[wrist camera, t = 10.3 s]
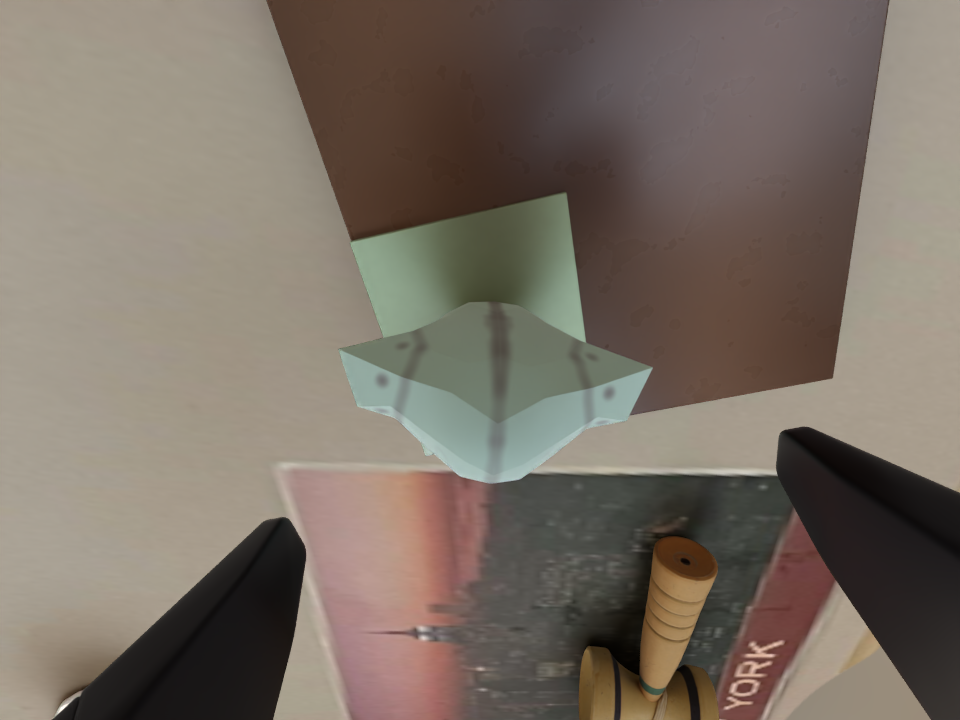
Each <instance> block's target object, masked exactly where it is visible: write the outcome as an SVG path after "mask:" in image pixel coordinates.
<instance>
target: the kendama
mask: <svg viewBox="0 0 960 720" xmlns="http://www.w3.org/2000/svg"><path fill="white" fill-rule="evenodd" d="M717 571H718V566H717V562H716V560H715V558H714V556H713V555H712V554H711V553H710V552H709V551H708V550H707V549H706V548H704V547H703V546H702V545H700V544H698V543H697V542H694V541H692V540H690V539H687V538H684V537H678V536H668V537H664V538H661V539H660V540H658V541H657V542H656V544H655V546H654V551H653V560H652V569H651V577H650V586H649V591H648V599H647V604H646V612H645V617H644V622H643V629H642V637H641V648H640V671H639V675H636V674H634V673H632V672H630V671H629V670H627V669H626V668H624V667H623V666H622V665H621V664H620V663H618V662H617V661H616V659H615V658H614V657H613V656H612V654H611V653H610V652H609V650H608V649H607V648H604V647H595V646H588V647H587V648H586V650H585V652H584V654H583V658H582V664H581V671H580V682H579V719H580V720H719V711H718V703H717V698H716V694H715V691H714V687H713V685H712V682H711V680H710V678H709V676H708V674H707V673H706V671H705V670H704V669H703V668H699V667H695V666H691V665H687V664H686V665H685V664H684V665H682V666H681V667H680V668H678V669H677V670H676V668H677V667H678V665H679V663H680V661H681V659H682V656H683V654H684V652H685V649H686V647H687V645H688V642H689V640H690V637H691V634H692V632H693V630H694V627H695V624H696V621H697V619H698V617H699V614H700V612H701V609H702V607H703V605H704V602H705V600H706V597H707V595H708V593H709V591H710V589H711V587H712V584H713V582H714V580H715V578H716V575H717ZM675 670H676V671H675Z"/></svg>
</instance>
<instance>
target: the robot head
mask: <svg viewBox="0 0 960 720" xmlns="http://www.w3.org/2000/svg"><path fill="white" fill-rule="evenodd" d="M338 350H339V353H340V356H341V359H342V362H343V365H344V368H345V371H346V374H347V377H348V380H349V383H350V386H351V389H352V392H353V395H354V398H355V401H356V404H357V406H358V407H361V408H364V409H367V410H370V411H374V412H377V413H380V414H383V415H387V416H390V417H393V418H396V419H397V420H398V421H399V422H400V423H401V424H402V425H403V426H404V427H405V428H406V429H407V430H408V431H410V432H411V433H412V434H413V435H414V436H415V437H416V438H417V439H418V440H419V441H420V442H421V443H422V444H424V445H425V446H426V447H427V448H428V449H429V450H430V451H431V452H432V453H434V454H435V455H436V456H437V457H438V458H439V459H440V460H442V461H443V462H444V463H445V464H446V465H447V466H448V467H450V468H451V469H452V470H453V471H454V472H455V473H456V474H458V475H459V476H460V477H464V478H468V479H473V480H477V481H482V482H486V483H498V482H506V481H513V480H520V479H521V478H523V477H524V476H525V475H527V474H528V473H529V472H531V471H532V470H534V469H535V468H536V467H538V466H539V465H541V464H542V463H543V462H545V461H546V460H547V459H549V458H550V457H552V456H553V455H554V454H556V453H557V452H558V451H559V450H560V449H562V448H563V447H564V446H565V445H567V444H568V443H569V442H570V441H572V440H573V439H574V438H575V437H577V436H578V435H579V434H580V433H582V432H583V431H584V430H585V429H587V428H591V427H597V426H602V425H607V424H613V423H618V422H623V421H627V419H628V417H629V415H630V413H631V411H632V409H633V407H634V405H635V403H636V401H637V399H638V397H639V395H640V393H641V391H642V389H643V387H644V385H645V383H646V381H647V379H648V377H649V375H650V373H651V371H652V368H653V367H650V366H648V365H645V364H642V363H640V362H637V361H634V360H631V359H629V358H626V357H623V356H621V355H618V354H615V353H612V352H610V351H607V350H604V349H601V348H599V347H596V346H593V345H591V344H588V343H585V342H582V341H580V340H578V339H576V338H574V337H572V336H570V335H569V334H567V333H565V332H563V331H561V330H559V329H557V328H555V327H553V326H551V325H550V324H548V323H546V322H544V321H543V320H542V319H541V318H539V317H537V316H535V315H534V314H532V313H530V312H529V311H527V310H525V309H524V308H522V307H520V306H518V305H512V304H506V303H500V302H494V301H493V302H468V303H466V304H464V305H462V306H460V307H458V308H456V309H454V310H452V311H450V312H448V313H447V314H445V315H444V316H443V317H442V318H440V319H439V320H438V321H435V322H433V323H430V324H428V325H426V326H423V327H421V328H419V329H416V330H414V331H410V332H406V333H402V334H398V335H394V336H390V337H385V338H381V339H377V340H373V341H369V342H365V343H361V344H357V345H353V346H349V347H344V348H340V349H338Z"/></svg>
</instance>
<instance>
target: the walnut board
mask: <svg viewBox="0 0 960 720" xmlns="http://www.w3.org/2000/svg"><path fill="white" fill-rule="evenodd" d="M266 1H267V3H268V6H269V9H270V12H271V15H272V18H273V20H274V23H275V26H276V29H277V32H278V35H279V37H280V40H281V43H282V46H283V49H284V52H285V54H286V57H287V60H288V63H289V66H290V68H291V71H292V74H293V77H294V80H295V83H296V85H297V88H298V91H299V94H300V97H301V100H302V102H303V105H304V108H305V111H306V114H307V117H308V119H309V122H310V125H311V128H312V131H313V134H314V136H315V139H316V142H317V145H318V148H319V151H320V153H321V156H322V159H323V162H324V165H325V168H326V170H327V173H328V176H329V179H330V182H331V185H332V187H333V190H334V193H335V196H336V199H337V202H338V204H339V207H340V210H341V213H342V216H343V219H344V221H345V224H346V227H347V230H348V233H349V235H350V238H351V242H350V245H351V248H352V250H353V253H354V256H355V259H356V262H357V264H358V267H359V270H360V273H361V276H362V279H363V281H364V284H365V287H366V290H367V293H368V295H369V298H370V301H371V304H372V307H373V309H374V312H375V315H376V318H377V321H378V324H379V326H380V329H381V332H382V335H383V338H385V337H390V336H394V335H398V334H402V333H406V332H410V331H414V330H416V329H419V328H421V327H423V326H426V325H428V324H430V323H433V322H435V321H438V320H439V319H440V318H442V317H443V316H444V315H445V314H447V313H448V312H450V311H452V310H454V309H456V308H458V307H460V306H462V305H464V304H466V303H468V302H493V301H494V302H500V303H506V304H512V305H518V306H520V307H522V308H524V309H525V310H527V311H529V312H530V313H532V314H534V315H535V316H537V317H539V318H541V319H542V320H543V321H544V322H546V323H548V324H550V325H551V326H553V327H555V328H557V329H559V330H561V331H563V332H565V333H567V334H569V335H570V336H572V337H574V338H576V339H578V340H580V341H582V342H585V343H588V344H591V345H593V346H596V347H599V348H601V349H604V350H607V351H610V352H612V353H615V354H618V355H621V356H623V357H626V358H629V359H631V360H634V361H637V362H640V363H642V364H645V365H648V366H650V367H653V368H652V371H651V373H650V375H649V377H648V379H647V381H646V383H645V385H644V387H643V389H642V391H641V393H640V395H639V397H638V399H637V401H636V403H635V405H634V407H633V409H632V411H631V413H630V415H634V414H640V413H645V412H651V411H656V410H662V409H667V408H673V407H678V406H684V405H689V404H695V403H700V402H706V401H711V400H717V399H722V398H728V397H733V396H739V395H744V394H750V393H755V392H761V391H766V390H772V389H777V388H783V387H788V386H794V385H799V384H805V383H810V382H816V381H821V380H827V379H832V378H833V373H834V366H835V360H836V353H837V346H838V340H839V333H840V326H841V320H842V313H843V306H844V300H845V293H846V286H847V279H848V273H849V266H850V259H851V253H852V246H853V239H854V233H855V226H856V219H857V212H858V206H859V199H860V192H861V186H862V179H863V172H864V166H865V159H866V152H867V146H868V139H869V132H870V125H871V119H872V112H873V105H874V99H875V92H876V85H877V79H878V72H879V65H880V59H881V52H882V45H883V38H884V32H885V25H886V18H887V12H888V5H889V0H266ZM421 444H422V443H421ZM422 447H423V450H424V453H425V456H428V455H433V454H434V453H432V452H431V451H430V450H429V449H428V448H427V447H426V446H425V445H424V444H422Z"/></svg>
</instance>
